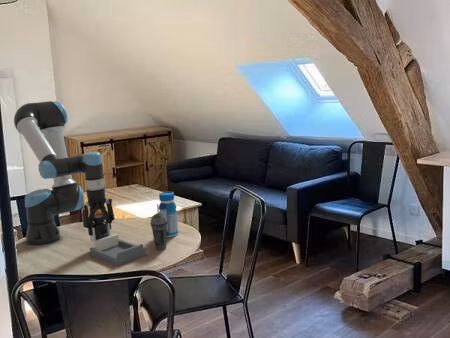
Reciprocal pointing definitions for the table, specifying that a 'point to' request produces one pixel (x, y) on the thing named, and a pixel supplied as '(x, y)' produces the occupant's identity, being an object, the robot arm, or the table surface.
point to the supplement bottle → (100, 227)
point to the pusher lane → (119, 253)
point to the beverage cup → (159, 230)
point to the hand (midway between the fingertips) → (101, 239)
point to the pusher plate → (106, 242)
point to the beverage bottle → (169, 212)
